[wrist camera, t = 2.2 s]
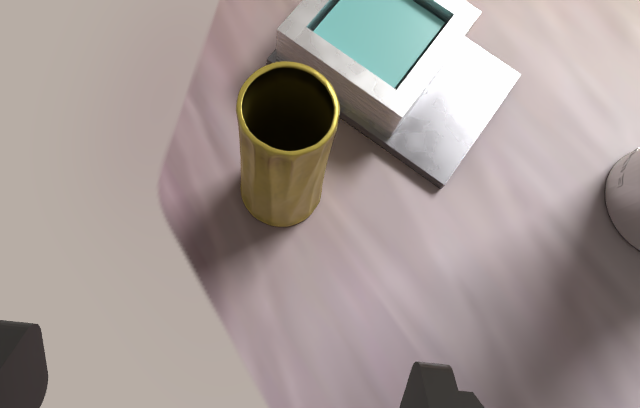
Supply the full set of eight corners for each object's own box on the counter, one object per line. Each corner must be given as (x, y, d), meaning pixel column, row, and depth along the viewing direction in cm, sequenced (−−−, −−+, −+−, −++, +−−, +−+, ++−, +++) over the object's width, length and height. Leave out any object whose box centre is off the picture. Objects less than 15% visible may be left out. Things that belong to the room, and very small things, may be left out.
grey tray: (515, 80, 45) (545, 48, 40) (440, 188, 42) (463, 168, 37) (351, -32, 46) (361, -76, 41) (267, 65, 43) (267, 30, 38)
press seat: (441, 29, 42) (445, 22, 41) (389, 97, 40) (392, 91, 39) (364, -23, 42) (366, -31, 41) (309, 41, 40) (310, 34, 39)
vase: (311, 235, 40) (335, 177, 26) (231, 216, 39) (212, 147, 26) (328, 160, 41) (359, 68, 28) (251, 142, 41) (244, 40, 27)
